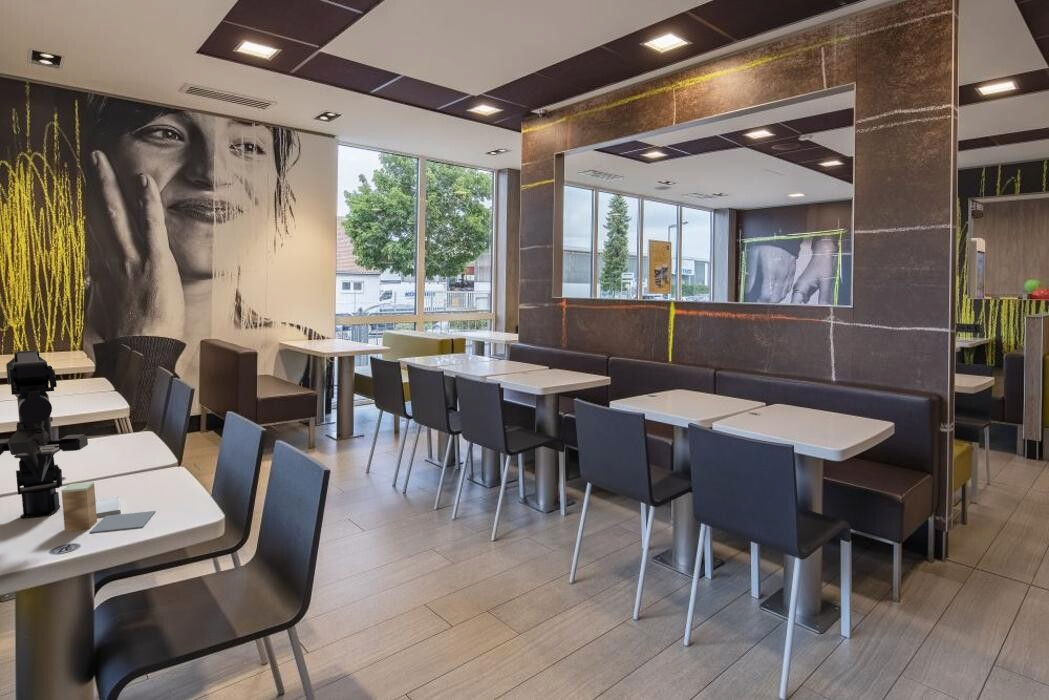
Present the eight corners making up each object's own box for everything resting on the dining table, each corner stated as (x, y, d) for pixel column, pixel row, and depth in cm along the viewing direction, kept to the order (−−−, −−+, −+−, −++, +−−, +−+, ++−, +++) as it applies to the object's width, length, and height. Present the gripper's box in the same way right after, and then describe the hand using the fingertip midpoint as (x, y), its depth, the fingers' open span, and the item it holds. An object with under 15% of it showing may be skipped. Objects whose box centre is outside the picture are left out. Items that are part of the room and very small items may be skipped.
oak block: (64, 531, 146) (61, 490, 145) (73, 524, 151) (70, 484, 150) (89, 529, 148) (86, 488, 147) (97, 521, 153) (94, 482, 152)
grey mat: (89, 533, 145) (89, 531, 145) (105, 516, 156) (105, 515, 156) (143, 527, 148) (143, 526, 148) (155, 511, 159) (155, 510, 159)
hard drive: (120, 509, 158) (119, 496, 168) (81, 516, 154) (82, 502, 164) (121, 515, 158) (119, 502, 169) (81, 522, 154) (82, 508, 164)
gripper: (-34, 425, 134) (-27, 496, 136) (67, 419, 140) (73, 487, 141) (-7, 415, 145) (-1, 481, 146) (86, 410, 150) (91, 473, 152)
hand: (40, 481), depth 146 cm, fingers closed
